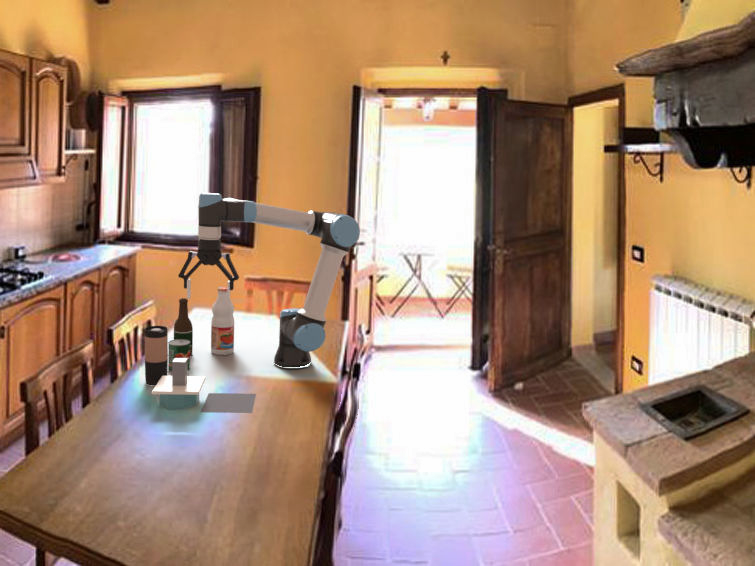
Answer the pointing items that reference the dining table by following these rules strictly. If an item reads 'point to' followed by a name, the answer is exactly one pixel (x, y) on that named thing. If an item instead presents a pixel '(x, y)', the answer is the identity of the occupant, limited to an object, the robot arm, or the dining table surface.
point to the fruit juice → (222, 324)
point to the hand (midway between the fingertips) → (208, 298)
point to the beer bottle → (183, 324)
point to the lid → (179, 380)
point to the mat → (229, 403)
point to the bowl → (178, 401)
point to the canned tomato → (178, 351)
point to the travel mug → (156, 354)
